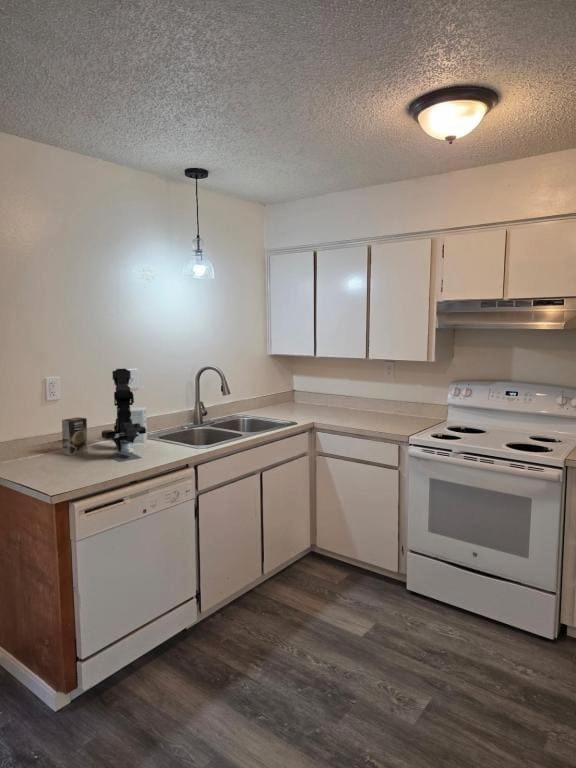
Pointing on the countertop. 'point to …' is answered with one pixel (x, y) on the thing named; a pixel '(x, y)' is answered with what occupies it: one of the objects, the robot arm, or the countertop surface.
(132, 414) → the supplement box
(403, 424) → the countertop surface
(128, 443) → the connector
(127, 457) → the mat
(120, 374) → the robot arm
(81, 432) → the coffee box
